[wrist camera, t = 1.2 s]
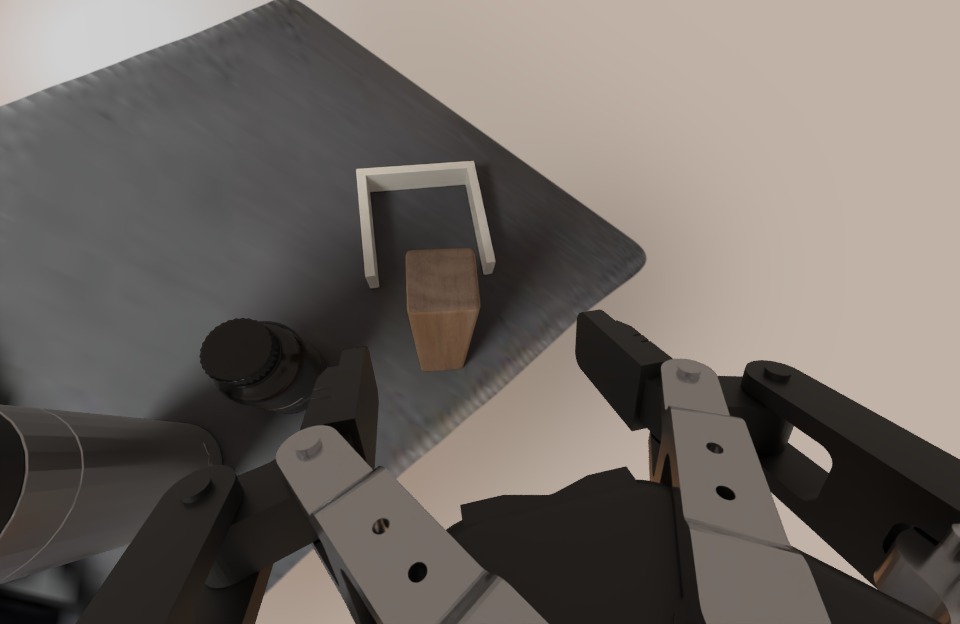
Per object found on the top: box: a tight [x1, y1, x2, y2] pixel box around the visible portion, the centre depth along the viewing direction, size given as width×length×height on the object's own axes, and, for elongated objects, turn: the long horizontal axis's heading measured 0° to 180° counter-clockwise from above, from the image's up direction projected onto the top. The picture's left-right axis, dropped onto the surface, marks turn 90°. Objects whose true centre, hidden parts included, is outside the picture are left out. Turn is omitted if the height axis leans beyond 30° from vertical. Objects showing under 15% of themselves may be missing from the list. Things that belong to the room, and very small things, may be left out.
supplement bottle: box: [200, 318, 328, 414], centre depth 31 cm, size 7×7×12 cm
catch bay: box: [356, 161, 496, 288], centre depth 43 cm, size 14×14×3 cm
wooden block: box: [405, 248, 481, 372], centre depth 32 cm, size 9×4×18 cm, turn 6°
